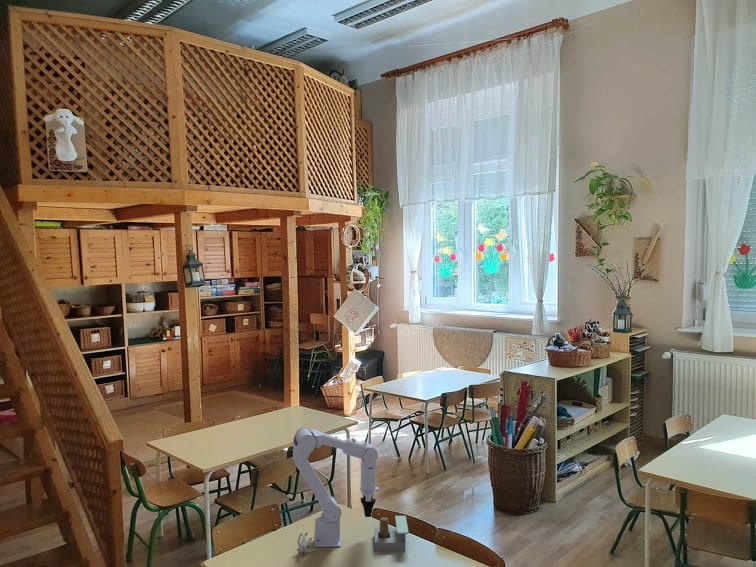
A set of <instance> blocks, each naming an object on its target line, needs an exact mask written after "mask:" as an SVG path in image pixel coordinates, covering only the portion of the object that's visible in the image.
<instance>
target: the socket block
mask: <svg viewBox="0 0 756 567" xmlns="http://www.w3.org/2000/svg"><path fill="white" fill-rule="evenodd" d="M394 517H395V526H396V527H388V538H380V527H373V529H374V530H373V533H374V534H373V535H374V536H373V538H374V542H373V543H374V551H375V550H394V551H393V552H396V551H395V550H397V552H398V551H399V552H400V551H401V552H402V551H404V552H405V551H406V541H407V540H406V536H407V535H409V528H408V522H407V516H406V515H395V516H394Z"/></svg>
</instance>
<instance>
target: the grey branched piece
mask: <svg viewBox="0 0 756 567" xmlns="http://www.w3.org/2000/svg"><path fill="white" fill-rule="evenodd" d="M301 536H302V539H301ZM306 536H308V532H307V531H306V532H305V533H304V534H303V532H300V534H299V536H298V538H297V546H298V548H296V550H297V551H298V552H299V553H300V555H302V554H303V553H305V554H310V553H312V552H315V550H316V549H317V547H313V548H312V549H308V548H309V546H310V545H311V543H312V542H311V541H312V540H313V537H310V538H308V539H306ZM306 541H307V542H306Z"/></svg>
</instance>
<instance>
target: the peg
mask: <svg viewBox="0 0 756 567" xmlns="http://www.w3.org/2000/svg"><path fill="white" fill-rule="evenodd" d="M379 528H380V538H388V528H389V518H388V517H386V516H383V517H382V516H381V517H380V518H379Z"/></svg>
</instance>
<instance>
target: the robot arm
mask: <svg viewBox="0 0 756 567" xmlns="http://www.w3.org/2000/svg"><path fill="white" fill-rule="evenodd" d="M292 444H293V447H292V448H293V449H292V460H293V462H294V465H295V467H296V468H297V469H298V470H299V473H300V474H301V476H302V478H303V479H304V480H305V482H306V484H307V485H308V487H309V488H310V490H311V492H312V493H313V495H314V497H315V498H316V501H317V502H318V503H319V508H320V510H321V511H322V513H321V515H320V516H318V517H316V518H315V520H314V521H315V522H314V535H313V536H314V537H313V538H314V548H317V547H318V548H319V547H320V548H324V547H325V548H327V547H328V548H330V547H331V548H332V547H334V548H335V547H341V545H342V535H341V517H342V509H341V507H340V506H339V505H338V503H337V500H336V498H335V497H334V496H332V495H331V494H330V493H329V491H328V490H327V488H326V487H325V485H324V484H323V482H322V481H321V479H320V478H319V476H318V474H317V472H316V471H315V469H314V468H313V466H312V464H311V462H310V461H309V457H310V455H311V454H312V452H313V451H314V449H315V447H316V449H317V448H320V447H322V446H323V445H324V446H328V447H331V448H335V449H340V450H342V453H343V454H344V455H347V456H351V457H354V458H357V459H360V487H359V491H360V493H361V494H362V497H360V503H361V505H362V507H363V513H364V518H371V517H372V514H373V509H374V506H375V504H376V500H377V499H376V498H373V497H374V494H375V493H376V492H379V490H380V489H379V486H377V484H376V483H377V481H376V480H377V479H376V478H377V460H378V458H379V454H378V451H377V450H378V449H376V448H375V447H374V446H373V445H372V444H371V443H369V442H365V441H364V442H361V441H358V440H357V439H356V438H354V437H351V438H345V439H341V438H339V437H335V436H333V435H330V434H327V433H325V432H322V431H319V430H316V429H315V428H314V429H312V428H310V429H309V428H308V427H300V428H299V429H297V430H296V431H295V434H294V436H293V439H292Z"/></svg>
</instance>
